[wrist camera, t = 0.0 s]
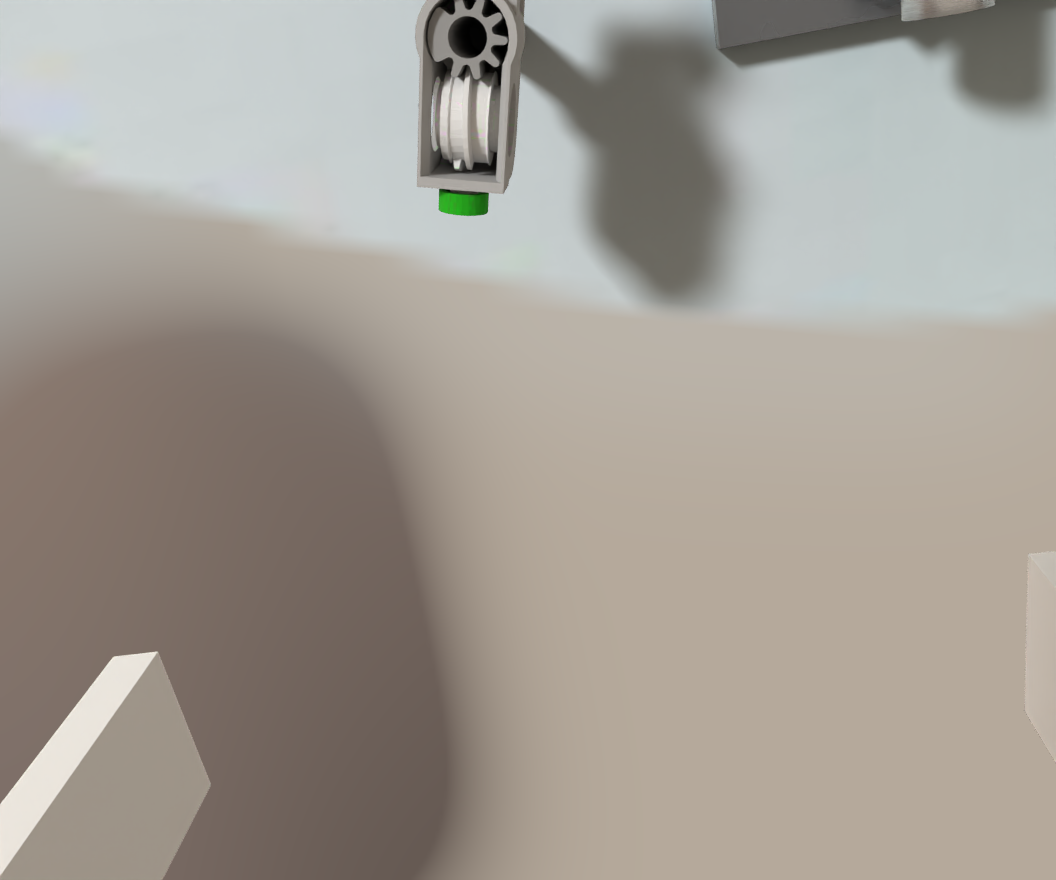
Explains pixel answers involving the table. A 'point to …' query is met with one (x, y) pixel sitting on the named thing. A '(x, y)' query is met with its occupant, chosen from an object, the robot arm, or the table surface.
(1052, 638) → the robot arm
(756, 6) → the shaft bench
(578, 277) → the table surface
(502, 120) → the mechanical component
